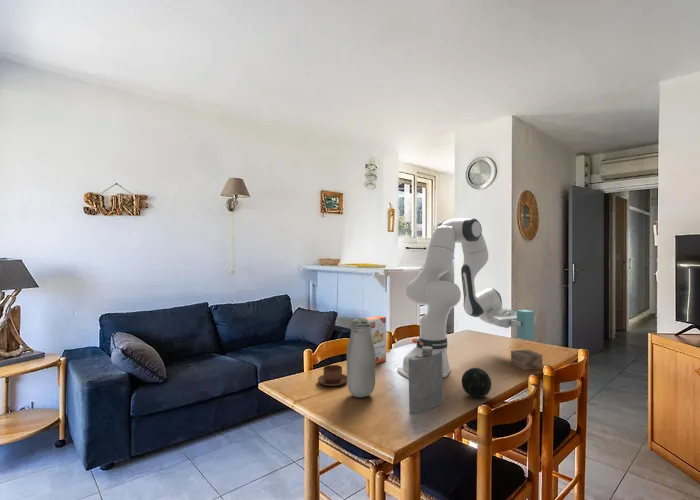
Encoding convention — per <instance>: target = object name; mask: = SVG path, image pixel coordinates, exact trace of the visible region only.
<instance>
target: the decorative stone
mask: <svg viewBox="0 0 700 500" xmlns="http://www.w3.org/2000/svg"><path fill="white" fill-rule="evenodd" d="M461 386H462V389H463V390H464V392H465V393H466V394H467V395H469V396H470V397H472V398H477V399H480V398H483V397H486V396H487V395H488V394H489V392H490V391H491V390H492V389H491V388H492V379H491V377H490V375H489V374H488V373H487V371H485V370H483V369H482V368H479V367H471V368H468V369H466V371H464V373H463V374H462V375H461Z"/></svg>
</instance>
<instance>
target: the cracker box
mask: <svg viewBox="0 0 700 500" xmlns="http://www.w3.org/2000/svg"><path fill="white" fill-rule="evenodd" d="M365 318H366V319H368V320H369V321H370V323H371V335H372V340H373V344H374V348H375V356H376V360H375V365H377V364H380V363H383V362H386V361H387V317H386V316H381V315H375V316H369V317H365Z"/></svg>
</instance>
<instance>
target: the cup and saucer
mask: <svg viewBox="0 0 700 500" xmlns="http://www.w3.org/2000/svg"><path fill="white" fill-rule="evenodd" d="M317 382H319V384H321V385H323V386H326V387H337V386H341V385H344V384H345V383H347V374H346V375H345V374H343V367H342V366H341V365H336V364H331V365H329V364H328V365H326V366H324V367H323V374H322V375H320V376H318V378H317Z"/></svg>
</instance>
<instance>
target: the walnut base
mask: <svg viewBox="0 0 700 500" xmlns="http://www.w3.org/2000/svg"><path fill="white" fill-rule="evenodd" d="M510 363H511V365H513V366H514V367H517V368H519V369H521V370H523V371H527V370H538V369H539V370H542V369H543V354H541V353H538V352H535V351H533V350H530V349H522V350H519V349H518V350H511V351H510Z"/></svg>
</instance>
